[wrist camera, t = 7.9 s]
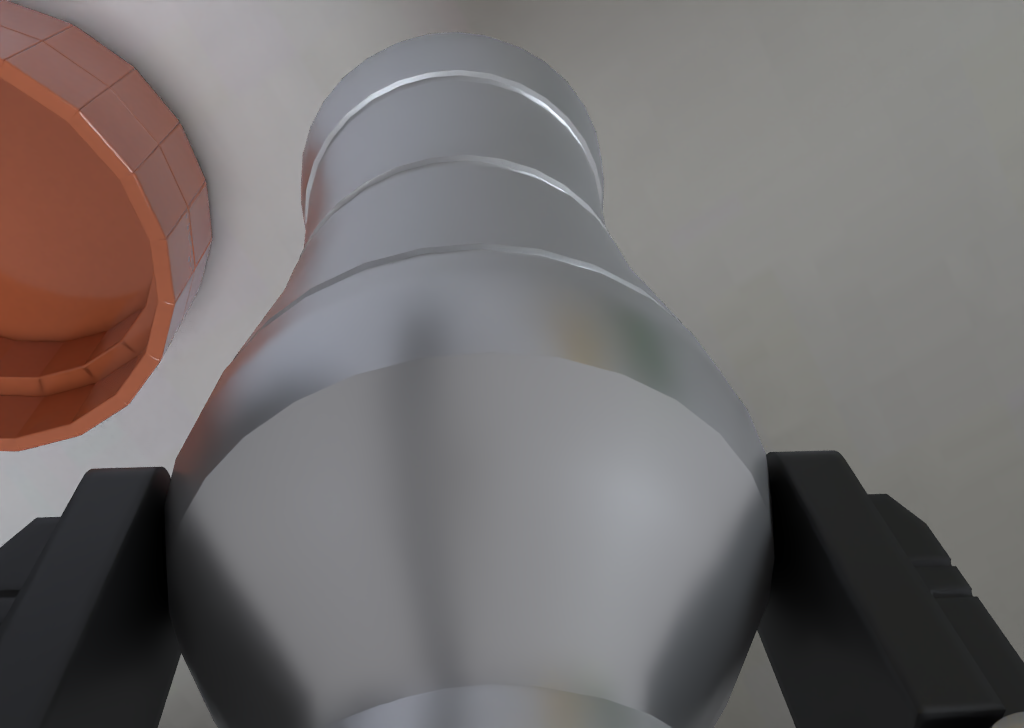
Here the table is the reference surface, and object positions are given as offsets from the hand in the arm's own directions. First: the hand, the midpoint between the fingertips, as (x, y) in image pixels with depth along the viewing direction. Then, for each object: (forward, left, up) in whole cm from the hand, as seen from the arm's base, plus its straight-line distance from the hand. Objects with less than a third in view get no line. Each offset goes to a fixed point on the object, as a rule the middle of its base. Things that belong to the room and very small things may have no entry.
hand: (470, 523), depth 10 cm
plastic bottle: (0, 0, -15) cm, 14 cm away
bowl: (+6, -17, -28) cm, 33 cm away
